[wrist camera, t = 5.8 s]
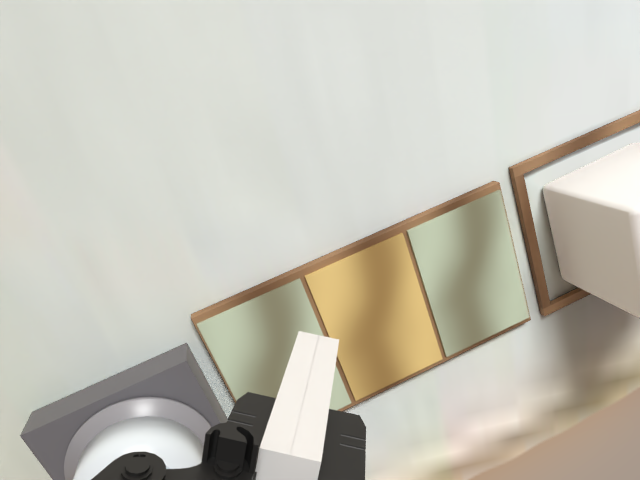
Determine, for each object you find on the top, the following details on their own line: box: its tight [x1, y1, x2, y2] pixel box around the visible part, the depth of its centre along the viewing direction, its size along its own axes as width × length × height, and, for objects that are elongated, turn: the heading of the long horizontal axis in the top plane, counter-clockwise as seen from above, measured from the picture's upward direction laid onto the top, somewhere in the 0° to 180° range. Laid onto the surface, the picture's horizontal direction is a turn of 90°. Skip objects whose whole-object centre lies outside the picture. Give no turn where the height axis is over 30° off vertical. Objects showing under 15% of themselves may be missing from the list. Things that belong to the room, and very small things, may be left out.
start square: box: [509, 110, 640, 316], centre depth 32 cm, size 11×11×1 cm
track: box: [191, 181, 531, 411], centre depth 30 cm, size 20×10×1 cm, turn 111°
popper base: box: [20, 343, 228, 480], centre depth 28 cm, size 9×9×2 cm
